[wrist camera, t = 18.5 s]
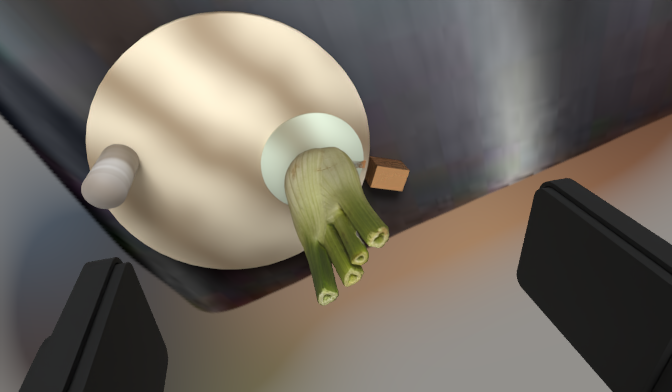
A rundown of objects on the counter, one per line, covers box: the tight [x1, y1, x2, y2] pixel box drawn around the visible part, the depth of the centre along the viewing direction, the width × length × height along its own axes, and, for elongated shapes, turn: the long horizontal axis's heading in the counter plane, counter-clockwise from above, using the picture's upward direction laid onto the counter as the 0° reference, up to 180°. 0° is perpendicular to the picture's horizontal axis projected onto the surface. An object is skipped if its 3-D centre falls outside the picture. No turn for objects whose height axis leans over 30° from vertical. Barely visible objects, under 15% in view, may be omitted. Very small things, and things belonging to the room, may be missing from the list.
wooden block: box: [365, 156, 410, 191], centre depth 33 cm, size 17×8×2 cm, turn 91°
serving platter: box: [81, 11, 370, 269], centre depth 29 cm, size 20×20×6 cm
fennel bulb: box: [284, 147, 389, 305], centre depth 27 cm, size 6×5×12 cm
